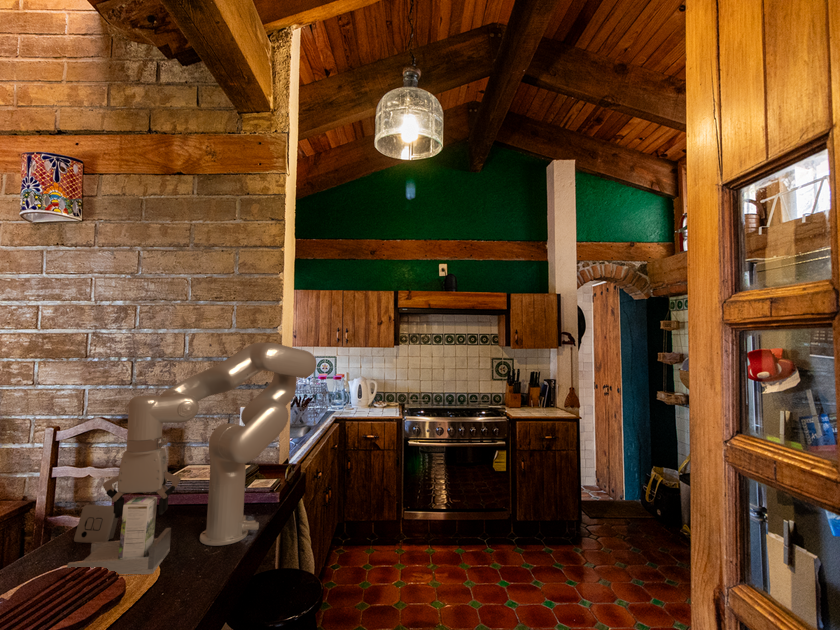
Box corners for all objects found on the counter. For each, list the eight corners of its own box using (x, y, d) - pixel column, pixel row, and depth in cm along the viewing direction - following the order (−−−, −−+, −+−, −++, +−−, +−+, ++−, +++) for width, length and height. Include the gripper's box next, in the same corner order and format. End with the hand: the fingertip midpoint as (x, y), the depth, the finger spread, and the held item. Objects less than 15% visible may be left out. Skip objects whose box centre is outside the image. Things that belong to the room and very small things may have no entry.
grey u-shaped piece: (169, 550, 116) (171, 527, 116) (152, 573, 104) (154, 547, 104) (92, 556, 112) (94, 531, 112) (65, 580, 100) (67, 553, 101)
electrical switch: (72, 542, 119) (78, 506, 121) (87, 536, 124) (93, 502, 126) (105, 544, 119) (110, 508, 120) (119, 538, 124) (124, 503, 125)
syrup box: (127, 555, 110) (132, 496, 112) (153, 554, 112) (157, 495, 113) (117, 566, 105) (121, 504, 106) (144, 564, 106) (148, 503, 107)
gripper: (186, 440, 117) (183, 506, 115) (112, 443, 113) (109, 511, 112) (177, 447, 109) (173, 517, 108) (98, 450, 106) (94, 523, 104)
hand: (140, 514), depth 110 cm, fingers open, 9 cm apart
